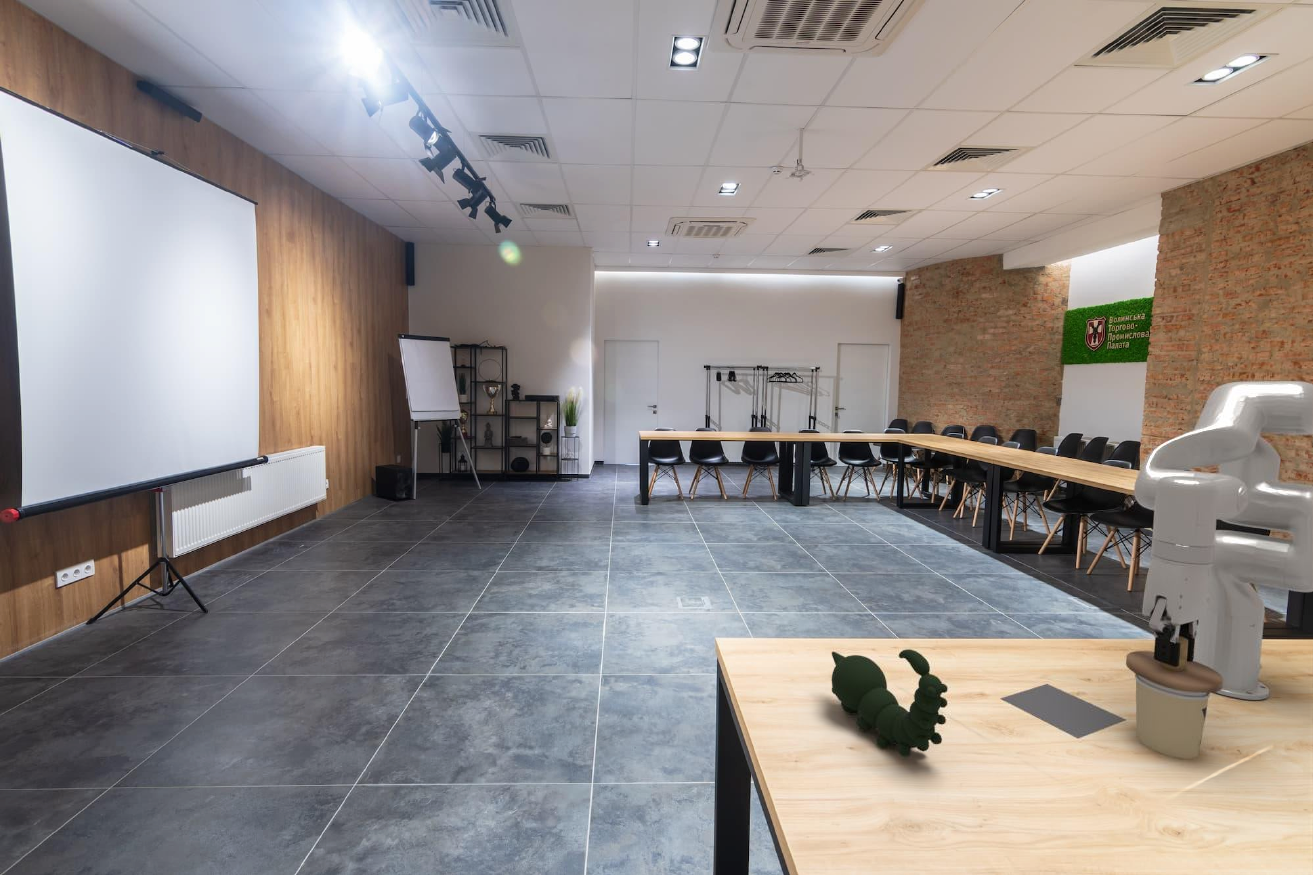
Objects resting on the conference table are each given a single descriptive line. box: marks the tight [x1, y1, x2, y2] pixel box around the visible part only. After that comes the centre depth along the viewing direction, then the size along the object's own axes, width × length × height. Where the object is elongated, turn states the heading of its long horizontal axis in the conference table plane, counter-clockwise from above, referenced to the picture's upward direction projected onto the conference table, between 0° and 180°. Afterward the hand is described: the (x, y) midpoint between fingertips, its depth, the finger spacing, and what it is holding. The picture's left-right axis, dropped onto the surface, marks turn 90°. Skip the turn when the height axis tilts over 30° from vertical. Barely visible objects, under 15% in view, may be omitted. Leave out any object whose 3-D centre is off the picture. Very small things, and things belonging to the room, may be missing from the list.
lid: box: [1125, 636, 1223, 694], centre depth 96 cm, size 12×12×6 cm
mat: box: [1000, 683, 1127, 739], centre depth 108 cm, size 14×14×1 cm
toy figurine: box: [831, 648, 948, 758], centre depth 101 cm, size 9×19×25 cm
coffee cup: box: [1134, 673, 1211, 760], centre depth 97 cm, size 9×9×12 cm
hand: (1173, 659), depth 96 cm, fingers open, 3 cm apart
